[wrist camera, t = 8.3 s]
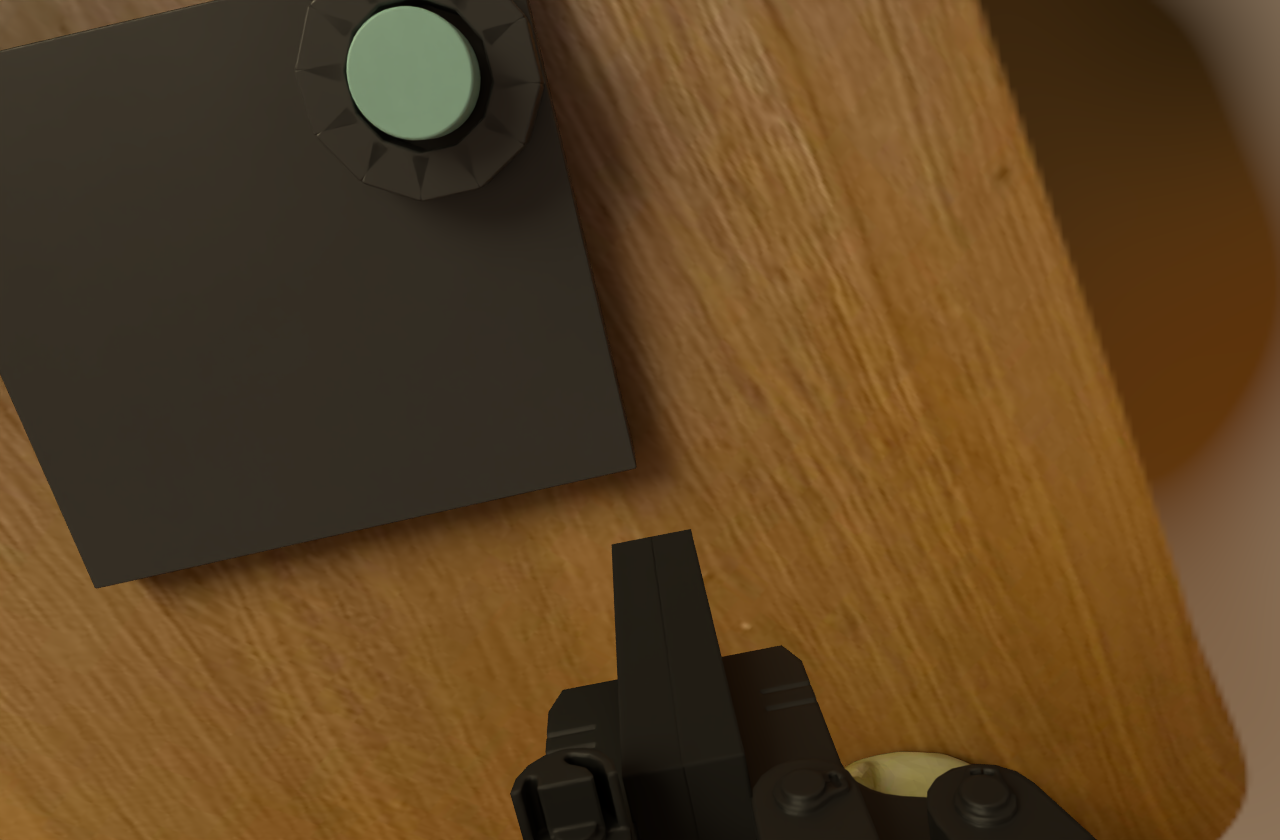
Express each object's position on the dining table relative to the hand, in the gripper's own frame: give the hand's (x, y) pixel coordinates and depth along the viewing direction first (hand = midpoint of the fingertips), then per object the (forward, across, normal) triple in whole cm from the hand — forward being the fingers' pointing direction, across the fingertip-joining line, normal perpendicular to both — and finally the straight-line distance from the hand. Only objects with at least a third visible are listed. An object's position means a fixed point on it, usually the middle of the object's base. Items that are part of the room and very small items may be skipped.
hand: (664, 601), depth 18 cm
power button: (+10, -4, +11) cm, 15 cm away
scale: (+12, -9, +6) cm, 16 cm away
